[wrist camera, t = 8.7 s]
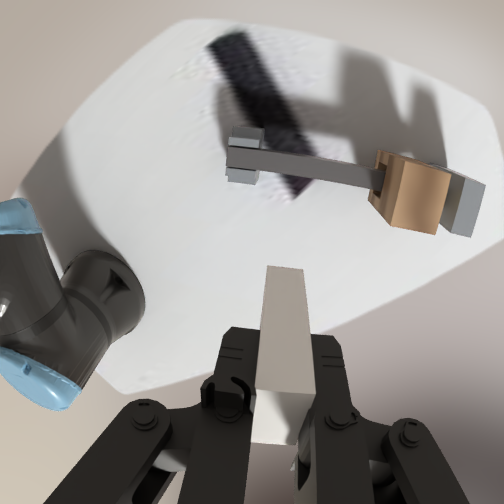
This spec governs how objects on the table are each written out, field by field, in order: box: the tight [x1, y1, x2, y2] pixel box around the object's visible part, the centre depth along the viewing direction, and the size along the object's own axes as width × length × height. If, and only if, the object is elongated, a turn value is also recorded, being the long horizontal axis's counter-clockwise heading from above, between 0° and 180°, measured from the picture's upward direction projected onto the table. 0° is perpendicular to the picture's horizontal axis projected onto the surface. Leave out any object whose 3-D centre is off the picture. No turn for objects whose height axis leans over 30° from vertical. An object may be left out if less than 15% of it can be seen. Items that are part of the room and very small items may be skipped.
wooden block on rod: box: [368, 150, 451, 235], centre depth 28 cm, size 5×6×9 cm
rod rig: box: [225, 126, 486, 238], centre depth 30 cm, size 27×6×9 cm, turn 84°
